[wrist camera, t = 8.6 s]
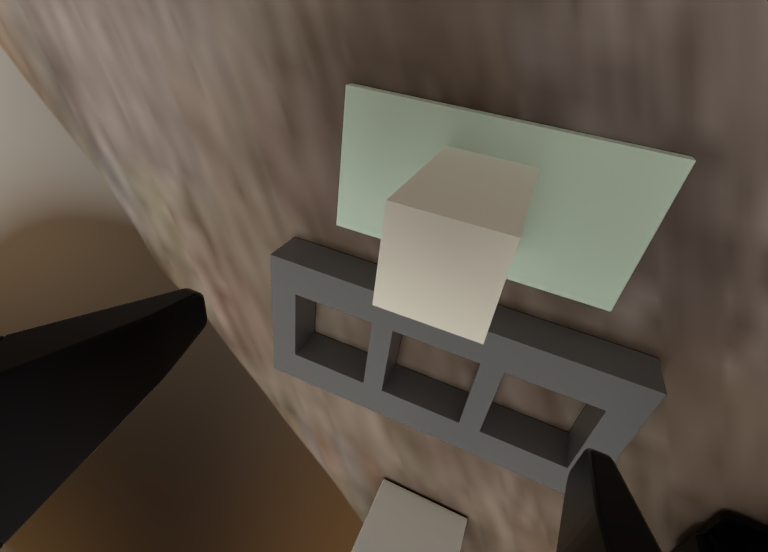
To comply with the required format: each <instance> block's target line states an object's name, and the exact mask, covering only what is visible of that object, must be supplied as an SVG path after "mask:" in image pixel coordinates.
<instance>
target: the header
mask: <svg viewBox="0 0 768 552" xmlns="http://www.w3.org/2000/svg"><path fill="white" fill-rule="evenodd" d="M270 257H271V285H272V312H273V340H274V368H276V369H278V370H280V371H282V372H285V373H287V374H289V375H292V376H294V377H296V378H299V379H301V380H303V381H305V382H308V383H310V384H312V385H315V386H317V387H319V388H322V389H324V390H326V391H329V392H331V393H333V394H335V395H338V396H340V397H342V398H345V399H347V400H349V401H352V402H354V403H356V404H358V405H361V406H363V407H365V408H368V409H370V410H372V411H375V412H377V413H379V414H382V415H384V416H386V417H388V418H391V419H393V420H395V421H398V422H400V423H402V424H405V425H407V426H409V427H411V428H414V429H416V430H418V431H421V432H423V433H425V434H428V435H430V436H432V437H435V438H437V439H439V440H441V441H444V442H446V443H448V444H451V445H453V446H455V447H458V448H460V449H462V450H464V451H467V452H469V453H471V454H474V455H476V456H478V457H481V458H483V459H485V460H488V461H490V462H492V463H494V464H497V465H499V466H501V467H504V468H506V469H508V470H511V471H513V472H515V473H517V474H520V475H522V476H524V477H527V478H529V479H531V480H534V481H536V482H538V483H541V484H543V485H545V486H547V487H550V488H552V489H554V490H557V491H559V492H561V493H564V494H565V490H566V483H567V478H568V475H569V472H570V470H571V469H572V467H573V466H574V464H575V463H576V462H577V460H578V459H579V457H580V456H581V454H582V453H583V451H584V450H585V449H587V448H592V449H594V450H597V451H599V452H602V453H605V454H607V455H609V456H610V457H611V458H612V459H613V461H614V462H615V460H616V459H617V458H618V457H619V455H620V454H621V453H622V451H623V450H624V449H625V448H626V446H627V445H628V444H629V442H630V441H631V440H632V439H633V437H634V436H635V435H636V434H637V432H638V431H639V430H640V428H641V427H642V426H643V425H644V423H645V422H646V421H647V419H648V418H649V417H650V416H651V414H652V413H653V412H654V410H655V409H656V408H657V407H658V405H659V404H660V403H661V401H662V400H663V399H664V398H665V396H666V395H667V393H666V389H665V384H664V380H663V376H662V371H661V367H660V363H659V359H658V358H655V357H652V356H649V355H646V354H643V353H640V352H638V351H635V350H632V349H629V348H626V347H623V346H620V345H617V344H614V343H611V342H608V341H605V340H602V339H599V338H596V337H593V336H590V335H587V334H584V333H581V332H578V331H575V330H572V329H569V328H566V327H563V326H560V325H557V324H554V323H551V322H548V321H545V320H542V319H539V318H536V317H533V316H530V315H527V314H524V313H521V312H518V311H515V310H512V309H509V308H506V307H503V306H500V305H497V307H496V309H495V312H494V315H493V318H492V321H491V324H490V327H489V330H488V332H487V335H486V338H485V341H484V344H481V343H478V342H475V341H472V340H469V339H467V338H464V337H461V336H458V335H455V334H452V333H450V332H447V331H444V330H441V329H438V328H436V327H433V326H430V325H427V324H424V323H422V322H419V321H416V320H413V319H410V318H408V317H405V316H402V315H399V314H396V313H394V312H391V311H388V310H385V309H382V308H379V307H377V306H374V305H372V303H373V296H374V288H375V281H376V273H377V264H374V263H371V262H368V261H365V260H362V259H359V258H356V257H353V256H350V255H347V254H344V253H341V252H338V251H335V250H332V249H329V248H326V247H323V246H320V245H317V244H314V243H311V242H308V241H305V240H302V239H299V238H296V237H294V238H292V239H291V240H290V241H288V242H287V243H286V244H284V245H283V246H282V247H280V248H279V249H277V250H276V251H275V252H273V253H272V254H271V255H270ZM316 302H317V303H320V304H322V305H325V306H328V307H330V308H333V309H336V310H338V311H341V312H344V313H346V314H349V315H352V316H354V317H357V318H360V319H362V320H365V321H368V322H370V323H372V327H371V334H370V341H369V348H368V353H366V352H363V351H361V350H358V349H356V348H353V347H351V346H348V345H346V344H343V343H341V342H338V341H336V340H333V339H331V338H328V337H326V336H323V335H321V334H318V333H316V332H315V309H316ZM402 335H405V336H408V337H410V338H413V339H416V340H418V341H421V342H424V343H426V344H429V345H432V346H434V347H437V348H440V349H442V350H445V351H448V352H450V353H453V354H456V355H458V356H461V357H464V358H466V359H469V360H472V361H474V362H477V363H479V364H478V367H477V370H476V373H475V375H474V378H473V381H472V384H471V386H470V389H469V392H468V393H467V392H464V391H462V390H459V389H457V388H454V387H452V386H449V385H447V384H444V383H442V382H439V381H437V380H434V379H432V378H429V377H427V376H424V375H421V374H419V373H416V372H414V371H411V370H409V369H406V368H404V367H401V366H399V365H396V362H397V357H398V352H399V347H400V342H401V337H402ZM504 373H506V374H509V375H512V376H514V377H517V378H520V379H522V380H525V381H528V382H530V383H533V384H536V385H538V386H541V387H544V388H546V389H549V390H552V391H554V392H557V393H560V394H562V395H565V396H568V397H570V398H573V399H576V400H578V401H581V402H584V403H586V406H585V407H584V409H583V411H582V412H581V414H580V415H579V417H578V419H577V420H576V422H575V423H574V425H573V427H572V428H571V430H570V431H569V433H568V432H565V431H563V430H560V429H558V428H555V427H553V426H550V425H548V424H545V423H543V422H540V421H538V420H535V419H532V418H530V417H527V416H525V415H522V414H520V413H517V412H515V411H512V410H510V409H507V408H505V407H502V406H500V405H497V404H495V403H492V400H493V398H494V396H495V393H496V391H497V389H498V386H499V384H500V381H501V379H502V377H503V374H504Z"/></svg>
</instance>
